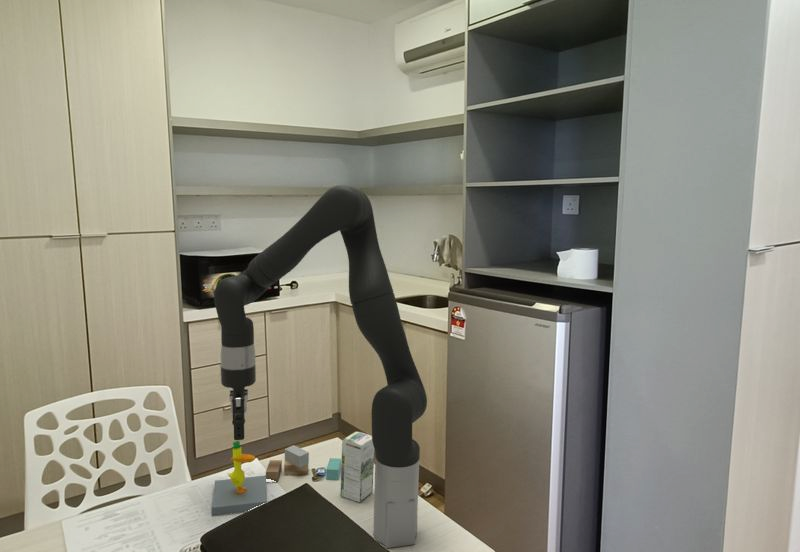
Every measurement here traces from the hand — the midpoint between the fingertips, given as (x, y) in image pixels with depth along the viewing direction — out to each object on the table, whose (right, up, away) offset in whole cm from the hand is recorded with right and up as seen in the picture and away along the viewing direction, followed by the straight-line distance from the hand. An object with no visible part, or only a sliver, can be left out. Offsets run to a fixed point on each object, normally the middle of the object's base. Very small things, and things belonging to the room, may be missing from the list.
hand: (239, 431), depth 124 cm
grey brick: (+10, -12, +15) cm, 22 cm away
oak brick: (+10, -15, +16) cm, 24 cm away
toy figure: (0, -15, +2) cm, 15 cm away
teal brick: (+20, -16, +15) cm, 29 cm away
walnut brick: (+5, -15, +13) cm, 21 cm away
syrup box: (+27, -17, +6) cm, 32 cm away
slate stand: (-1, -16, +2) cm, 17 cm away
